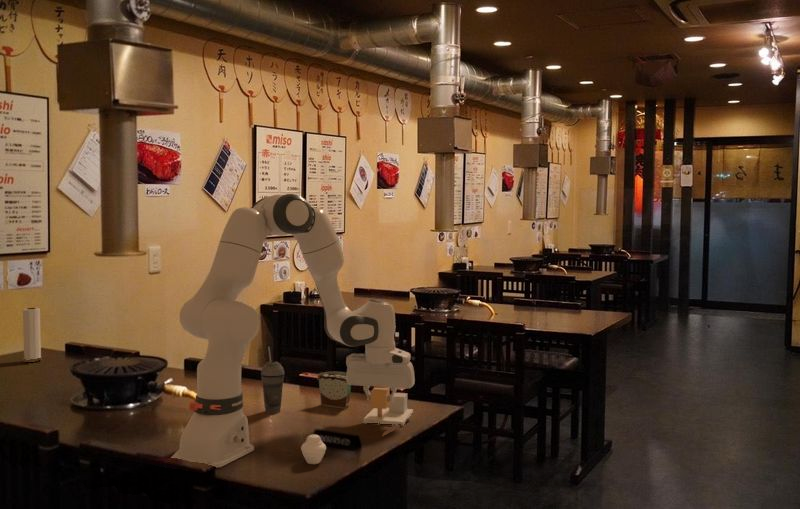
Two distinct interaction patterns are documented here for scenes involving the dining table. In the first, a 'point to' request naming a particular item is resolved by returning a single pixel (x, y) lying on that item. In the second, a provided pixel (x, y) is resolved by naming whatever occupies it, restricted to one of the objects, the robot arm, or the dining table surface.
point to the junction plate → (391, 412)
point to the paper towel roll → (31, 333)
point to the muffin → (313, 449)
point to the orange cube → (379, 397)
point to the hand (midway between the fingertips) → (380, 401)
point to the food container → (334, 389)
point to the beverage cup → (272, 385)
